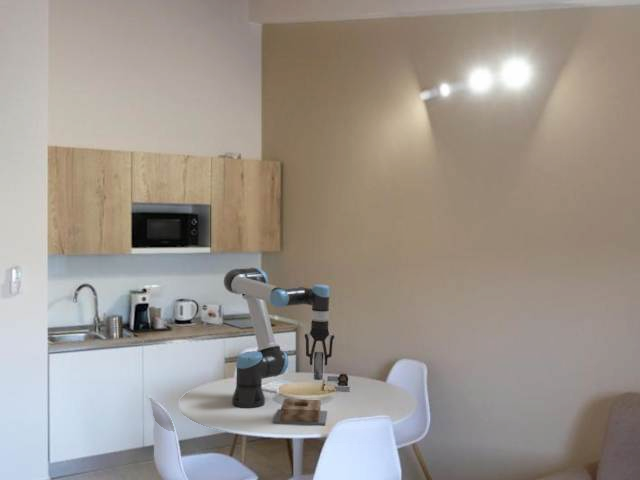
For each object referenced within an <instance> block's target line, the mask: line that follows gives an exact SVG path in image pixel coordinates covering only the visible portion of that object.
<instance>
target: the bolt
mask: <svg viewBox="0 0 640 480" xmlns="http://www.w3.org/2000/svg"><path fill="white" fill-rule="evenodd" d="M338 376H339V377H338V380H339V381H337V386H348V382H347V381H348V376H349V375H348V374H347V373H339V375H338Z"/></svg>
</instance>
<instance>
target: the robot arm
mask: <svg viewBox="0 0 640 480" xmlns="http://www.w3.org/2000/svg"><path fill="white" fill-rule="evenodd" d="M223 286H224V287H225V290H227V291H228V292H230V293H233V294H235V295H241V296H242V298H243V299H244V300H246V303H247V307H248V311H249V315H250V319H251V323H252V328H253V331H254V332H253V333H254V336H255V340H256V344H257V349H256V350H252V351H244V352H242V353H240V354H238V356H237V358H236V364H235V365H236V377H235V378H236V383H235V385H236V386H235V390H234V392H233V395H232V399H231V404H232V405H233V406H235V407H239V408H245V409H246V408H248V409H249V408H250V409H252V408H258V407H259V408H260V407H262V406H264V405H265V403H266V398H265V394H264V391H262V387H261V385H262V384H263V383H262V379H267V378H273V377H274V378H276V377H278V376H282V375H283V374H285V372H286V371H287V368H288V367H289V357H288V354H287V353H286V352H285V351H284V350H281V347H280V346H281V345H279V344H278V343H276V339H275V336H274V331H273V328H272V323H271V319H270V315H269V312H268V311H269V310H268V307H267V303H266V302H268V303H270V304H272V306H273V307H278V308H279V307H280V308H283V307H290V306H291V307H292V306H299V305H308V306H311V319H312V320H311V324H310V325H311V326H310V331H309V332H307V333H304V338H305V355H306V357H308V358H309V365H310V366H311V373H312V374H314V352H315V349H316V344H317V342H321V343H322V349H323V374H325V366H327V365H328V359H329V358H332V354H333V342H334V338H335V334H332V333H330V332H329V318H330V314H329V313H330V312H329V311H330V308H329V307H330V287H329V286H328V285H326V284H313V286H312V288H311V287H306V286H296V287H294V288H283V287H280V286H276V285H273V284H271V283H270V284H269V279H268V275H267V274H266V272H265V271H264V269H261V268H258V267H249V268H233V269H230V270H229V271H228V272H227V273H226V274H225V275H224V278H223ZM310 337H312V339H313V341H312V347H311V351H310V340H309V339H310ZM327 338H328V339H329V347H328V348H329V349H328V351H327V344H326V339H327Z"/></svg>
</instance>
